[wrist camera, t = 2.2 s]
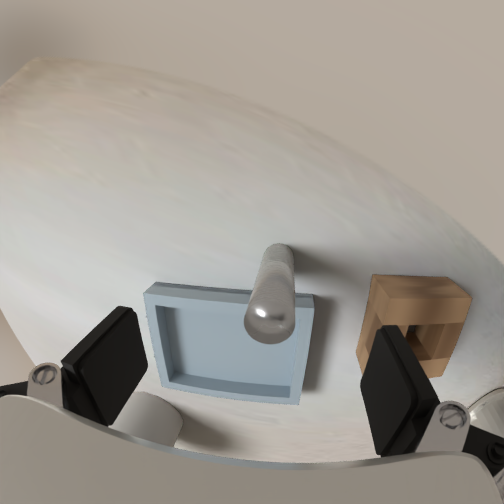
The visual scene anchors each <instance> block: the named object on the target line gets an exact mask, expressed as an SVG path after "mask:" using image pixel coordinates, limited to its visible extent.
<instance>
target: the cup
mask: <svg viewBox="0 0 504 504" xmlns="http://www.w3.org/2000/svg"><path fill="white" fill-rule="evenodd" d="M182 425H183V419H182V417H181V415H180V413H179V412H178V411H177V410H176V409H175V408H174V407H173V406H172V405H171V404H170V403H168V402H166V401H165V400H163V399H161V398H160V397H158V396H155V395H152V394H149V393H146V392H133V393H132V395H131V396H130V398H129V399H128V401H127V403H126V404H125V406H124V407H123V409H122V411H121V412H120V414H119V415H118V417H117V419H116V420H115V422H114V423H113V425H111V426H108V427H109V428H112V429H114V430H117V431H120V432H123V433H126V434H129V435H132V436H135V437H138V438H141V439H144V440H148V441H151V442H155V443H158V444H162V445H166V446H170V447H174V444H175V442H176V440H177V437H178V435H179V433H180V430H181V428H182Z"/></svg>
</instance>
